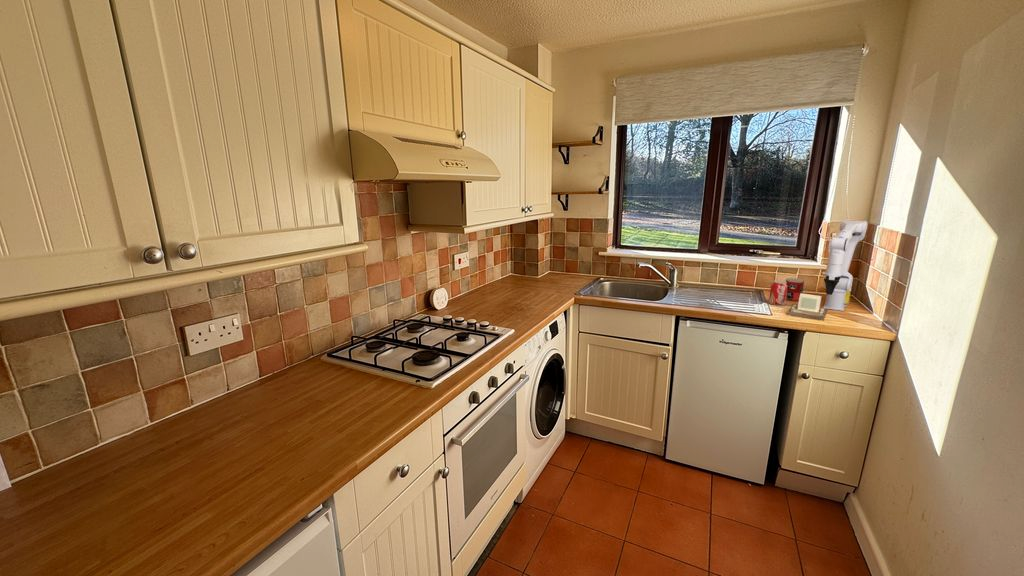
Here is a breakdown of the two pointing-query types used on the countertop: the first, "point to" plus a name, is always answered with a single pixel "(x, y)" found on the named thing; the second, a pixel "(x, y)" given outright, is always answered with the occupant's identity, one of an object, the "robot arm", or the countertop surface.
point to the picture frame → (809, 302)
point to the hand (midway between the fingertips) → (829, 292)
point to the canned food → (794, 289)
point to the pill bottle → (847, 298)
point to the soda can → (778, 293)
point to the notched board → (807, 313)
